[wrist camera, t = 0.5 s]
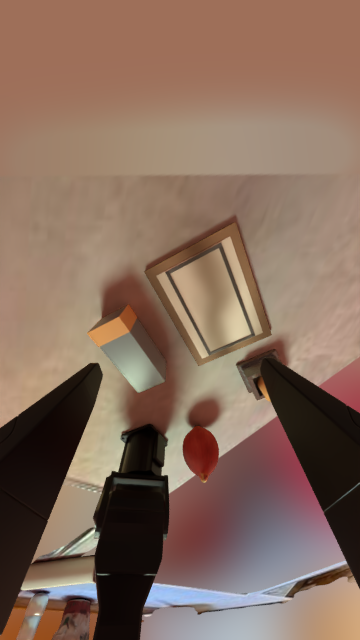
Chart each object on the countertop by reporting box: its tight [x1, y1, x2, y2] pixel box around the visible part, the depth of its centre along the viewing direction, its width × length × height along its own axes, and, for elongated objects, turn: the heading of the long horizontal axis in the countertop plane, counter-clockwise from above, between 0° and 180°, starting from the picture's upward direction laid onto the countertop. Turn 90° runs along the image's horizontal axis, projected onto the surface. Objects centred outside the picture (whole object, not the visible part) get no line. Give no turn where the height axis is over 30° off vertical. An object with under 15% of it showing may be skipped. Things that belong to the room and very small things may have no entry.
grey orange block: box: [87, 304, 166, 393], centre depth 21 cm, size 4×10×4 cm, turn 27°
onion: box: [183, 426, 219, 482], centre depth 27 cm, size 6×6×8 cm
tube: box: [21, 555, 96, 590], centre depth 52 cm, size 5×5×25 cm
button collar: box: [236, 349, 281, 400], centre depth 25 cm, size 6×6×2 cm
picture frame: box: [145, 222, 272, 366], centre depth 21 cm, size 11×15×1 cm
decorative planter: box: [52, 599, 91, 640], centre depth 68 cm, size 20×12×14 cm, turn 25°
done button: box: [257, 376, 271, 402], centre depth 23 cm, size 3×3×2 cm
